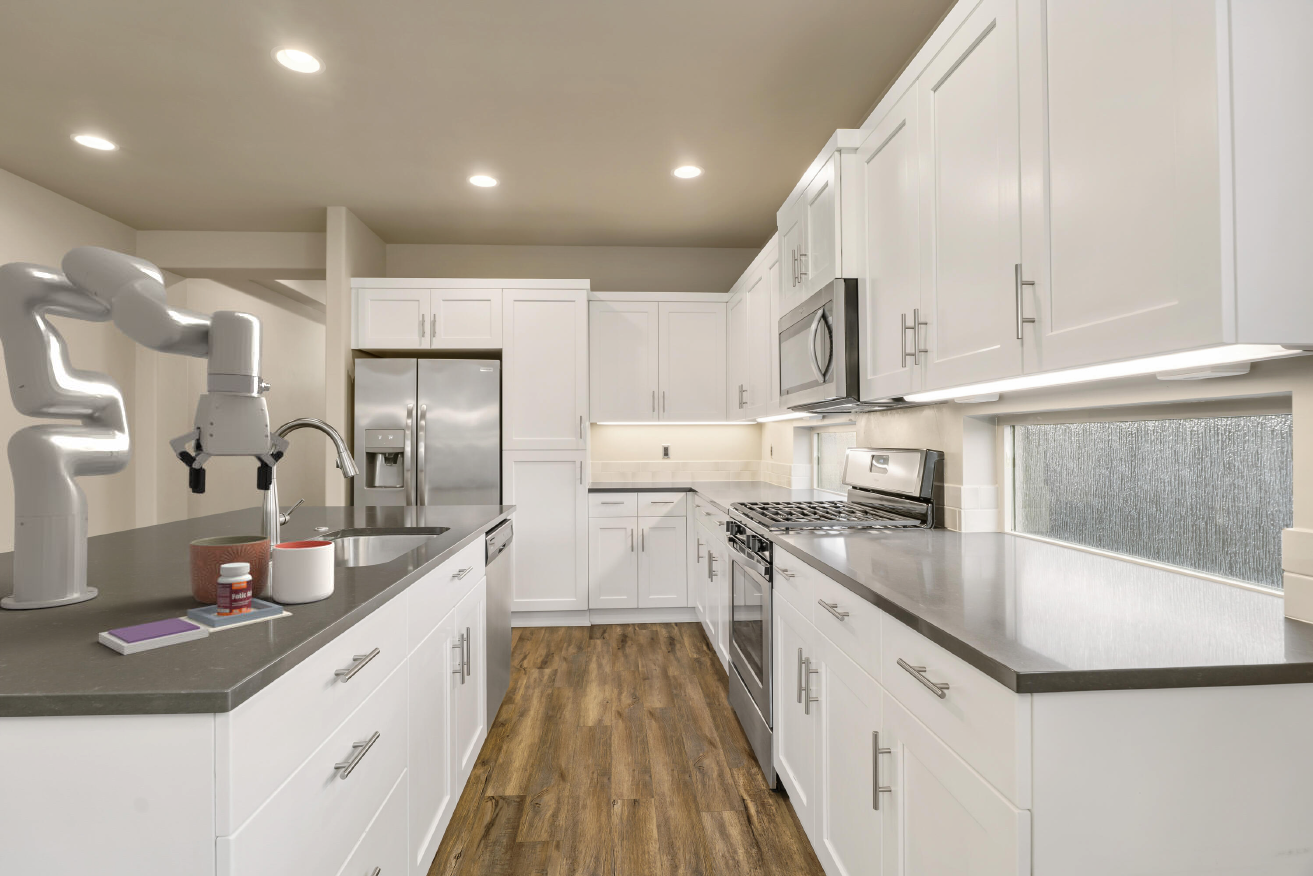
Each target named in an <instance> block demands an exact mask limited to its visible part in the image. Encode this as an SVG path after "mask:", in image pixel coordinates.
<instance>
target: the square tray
mask: <svg viewBox="0 0 1313 876" xmlns="http://www.w3.org/2000/svg"><path fill="white" fill-rule="evenodd" d="M186 613H187V615H186V616H181V617H179V618H183V619H185V620H188V621H190V622H193V623H196V624H198V625H201V626H203V627H206V628H209V634H210V633H215V632H221V631H225V630H229V629H233V628H234V629H235V628H238V627H239V628H240V627H243V626H249V625H252V624H253V625H254V624H257V623H263V622H267V621H272V620H276V619H281V618H285V617H289V616H293V613H291V612H289V611H285V610H284V606H283V605H279V604H276V603H272V602H269V601H265V600H261V599H259V598H257V597H256V598H251V611H250V612H245V613H240V614H235V615H230V616H225V617H220V618H219V617H217V604H212V605H207V606H203V607H197V608H193V609H187V612H186Z"/></svg>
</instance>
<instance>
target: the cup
mask: <svg viewBox="0 0 1313 876" xmlns="http://www.w3.org/2000/svg"><path fill="white" fill-rule="evenodd" d="M271 549H272V550H271V551H272V555H271V556H272V557H271V558H272V559H271V560H272V561H271V564H272V565H271V596H272V598H273V600H274V601H275V602H278V603H281V604H290V605H293V604H294V605H297V604H308V603H314V602H318V601H321V600H325V599H327V598H329V597H331V595H332V594H333V593H334V590H335V542H333V541H332V540H331V541H329V540H300V541H299V540H298V541H288V542H281V543H278V544H274V545H273V546H272V548H271Z"/></svg>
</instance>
